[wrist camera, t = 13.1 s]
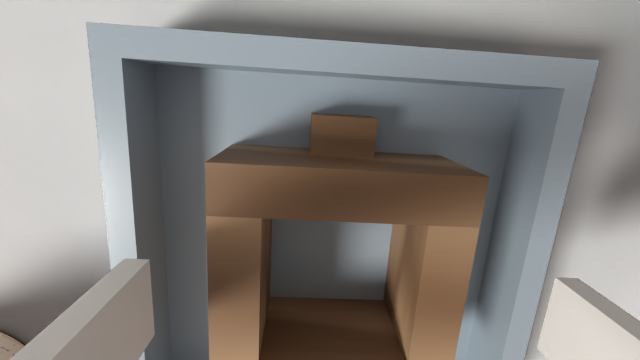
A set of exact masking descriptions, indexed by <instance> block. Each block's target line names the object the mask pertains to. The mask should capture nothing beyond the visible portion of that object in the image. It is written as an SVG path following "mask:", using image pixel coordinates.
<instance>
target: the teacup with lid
mask: <svg viewBox="0 0 640 360" xmlns="http://www.w3.org/2000/svg"><path fill="white" fill-rule="evenodd" d="M24 346H25V345H23V344H22V343H20V342H19V341H17V340H15V339H14V338H12V337H10V336H8V335H6V334H4V333H2V332H0V360H10V359H11V358H12V357H13V356H14V355H15V354H16V353H17V352H19V351H20V350H21V349H22V348H23V347H24Z"/></svg>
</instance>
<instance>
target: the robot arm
mask: <svg viewBox="0 0 640 360" xmlns="http://www.w3.org/2000/svg"><path fill="white" fill-rule="evenodd" d="M154 335H155V330H154V317H153V303H152V289H151V275H150V261H149V260H148V259H125V258H124V259H123V260H122V261H121V262H120V263H119V264H118V265H116V266H115V267H114V268H113V269H112V270H111V271H110V272H108V273H107V274H106V275H105V276H104V277H103V278H102V279H101V280H99V281H98V282H97V283H96V284H95V285H94V286H93V287H91V288H90V289H89V290H88V291H87V292H86V293H85V294H83V295H82V296H81V297H80V298H79V299H78V300H77V301H75V302H74V303H73V304H72V305H71V306H70V307H69V308H68V309H66V310H65V311H64V312H63V313H62V314H61V315H60V316H58V317H57V318H56V319H55V320H54V321H53V322H52V323H50V324H49V325H48V326H47V327H46V328H45V329H44V330H42V331H41V332H40V333H39V334H38V335H37V336H36V337H35V338H33V339H32V340H31V341H30V342H29V343H28V344H27V345H25V346H24V347H23V348H22V349H21V350H20V351H19V352H17V353H16V354H15V355H14V356H13V357H12V358H11V359H10V360H138V359H139V358H140V356H141V355H142V353H143V352H144V350H145V349H146V347H147V346H148V344H149V343H150V341H151V339H152V338H153V336H154ZM537 349H538V350H539V351H540V352H541V353H542V354H543V356H544V357H545V358H546V359H547V360H640V321H639V320H637V319H636V318H634V317H633V316H632V315H630V314H629V313H627V312H626V311H624V310H623V309H621V308H620V307H619V306H617V305H616V304H614V303H613V302H611V301H610V300H608V299H607V298H606V297H604V296H603V295H601V294H600V293H598V292H597V291H595V290H594V289H593V288H591V287H590V286H588V285H587V284H585V283H584V282H582V281H581V280H580V279H578V278H557V277H555V281H554V285H553V288H552V292H551V296H550V300H549V303H548V307H547V311H546V315H545V318H544V322H543V326H542V330H541V333H540V337H539V341H538V345H537Z"/></svg>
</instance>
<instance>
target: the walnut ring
mask: <svg viewBox="0 0 640 360" xmlns="http://www.w3.org/2000/svg"><path fill="white" fill-rule="evenodd" d="M377 125H378V118H374V117H371V116H357V115H341V114H324V113H311V129H310V147H309V148H295V147H277V146H259V145H241V144H232V145H231V146H229V147H227V148H226V149H224V150H223V151H221V152H220V153H218V154H217V155H215V156H214V157H212V158H211V159H209V160H208V161H206V162H205V184H206V229H207V275H208V321H209V360H455V355H456V350H457V344H458V339H459V334H460V329H461V323H462V318H463V313H464V308H465V303H466V297H467V292H468V287H469V282H470V276H471V271H472V266H473V261H474V255H475V250H476V245H477V240H478V235H479V229H480V224H481V219H482V214H483V208H484V203H485V198H486V193H487V187H488V182H489V177H488V176H486V175H484V174H481V173H479V172H477V171H475V170H472V169H470V168H468V167H465V166H463V165H461V164H459V163H456V162H454V161H452V160H449V159H447V158H445V157H443V156H439V155H421V154H403V153H385V152H375V144H376V134H377ZM272 219H286V220H309V221H332V222H355V223H379V224H392V232H391V241H390V249H389V257H388V265H387V273H386V281H385V289H384V298H383V300H364V299H330V298H297V297H270V276H271V242H272Z"/></svg>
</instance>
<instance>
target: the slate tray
mask: <svg viewBox="0 0 640 360" xmlns="http://www.w3.org/2000/svg"><path fill="white" fill-rule="evenodd" d="M86 27H87V37H88V47H89V57H90V67H91V77H92V87H93V97H94V107H95V117H96V127H97V137H98V147H99V157H100V167H101V177H102V187H103V197H104V207H105V217H106V227H107V237H108V247H109V257H110V267H111V270H112V269H113V268H114V267H115V266H116V265H118V264H119V263H120V262H121V261H122V260H123V259H124V258H125V259H148V260H149V261H150V275H151V289H152V303H153V317H154V330H155V335H154V336H153V338H152V339H151V341H150V343H149V344H148V346H147V347H146V349H145V350H144V352H143V353H142V355H141V356H140V358H139V359H138V360H209V321H208V275H207V229H206V184H205V162H206V161H208V160H209V159H211V158H212V157H214V156H215V155H217V154H218V153H220V152H221V151H223V150H224V149H226V148H227V147H229V146H231V145H232V144H241V145H259V146H277V147H295V148H309V147H310V129H311V113H324V114H341V115H357V116H371V117H374V118H378V125H377V134H376V144H375V152H385V153H403V154H421V155H439V156H443V157H445V158H447V159H449V160H452V161H454V162H456V163H459V164H461V165H463V166H465V167H468V168H470V169H472V170H475V171H477V172H479V173H481V174H484V175H486V176H488V177H489V182H488V187H487V193H486V198H485V203H484V208H483V214H482V219H481V224H480V229H479V235H478V240H477V245H476V250H475V255H474V261H473V266H472V271H471V276H470V282H469V287H468V292H467V297H466V303H465V308H464V313H463V318H462V323H461V329H460V334H459V339H458V344H457V350H456V355H455V360H524V359H525V355H526V351H527V347H528V343H529V339H530V335H531V331H532V327H533V323H534V319H535V315H536V311H537V307H538V303H539V299H540V295H541V291H542V287H543V283H544V279H545V275H546V271H547V267H548V263H549V259H550V255H551V251H552V247H553V243H554V239H555V235H556V231H557V227H558V223H559V219H560V215H561V211H562V208H563V204H564V200H565V196H566V192H567V188H568V184H569V180H570V176H571V172H572V168H573V164H574V160H575V156H576V152H577V148H578V144H579V140H580V136H581V132H582V128H583V124H584V120H585V116H586V112H587V108H588V104H589V100H590V96H591V92H592V88H593V84H594V80H595V76H596V72H597V68H598V64H599V60H591V59H577V58H564V57H550V56H537V55H524V54H510V53H497V52H483V51H470V50H456V49H443V48H429V47H416V46H402V45H389V44H375V43H362V42H348V41H335V40H321V39H308V38H294V37H281V36H267V35H254V34H240V33H227V32H213V31H200V30H186V29H173V28H159V27H146V26H132V25H119V24H105V23H92V22H86ZM391 232H392V224H379V223H355V222H332V221H309V220H286V219H272V242H271V276H270V297H297V298H330V299H364V300H383V298H384V289H385V281H386V273H387V265H388V257H389V249H390V241H391Z"/></svg>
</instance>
